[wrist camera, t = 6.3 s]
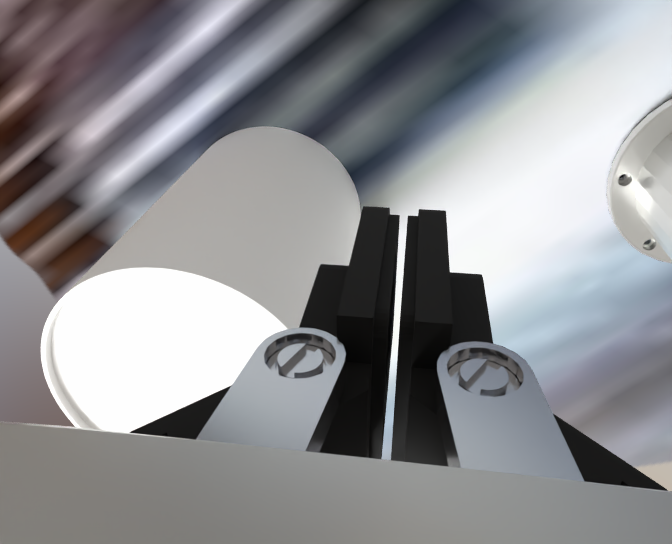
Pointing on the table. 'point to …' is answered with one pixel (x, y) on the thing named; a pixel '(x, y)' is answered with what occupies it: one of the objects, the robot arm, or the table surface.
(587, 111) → the table surface
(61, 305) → the canister
